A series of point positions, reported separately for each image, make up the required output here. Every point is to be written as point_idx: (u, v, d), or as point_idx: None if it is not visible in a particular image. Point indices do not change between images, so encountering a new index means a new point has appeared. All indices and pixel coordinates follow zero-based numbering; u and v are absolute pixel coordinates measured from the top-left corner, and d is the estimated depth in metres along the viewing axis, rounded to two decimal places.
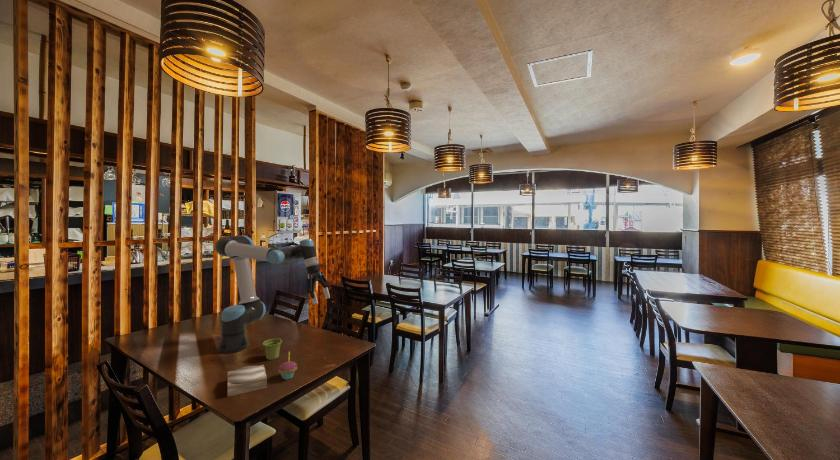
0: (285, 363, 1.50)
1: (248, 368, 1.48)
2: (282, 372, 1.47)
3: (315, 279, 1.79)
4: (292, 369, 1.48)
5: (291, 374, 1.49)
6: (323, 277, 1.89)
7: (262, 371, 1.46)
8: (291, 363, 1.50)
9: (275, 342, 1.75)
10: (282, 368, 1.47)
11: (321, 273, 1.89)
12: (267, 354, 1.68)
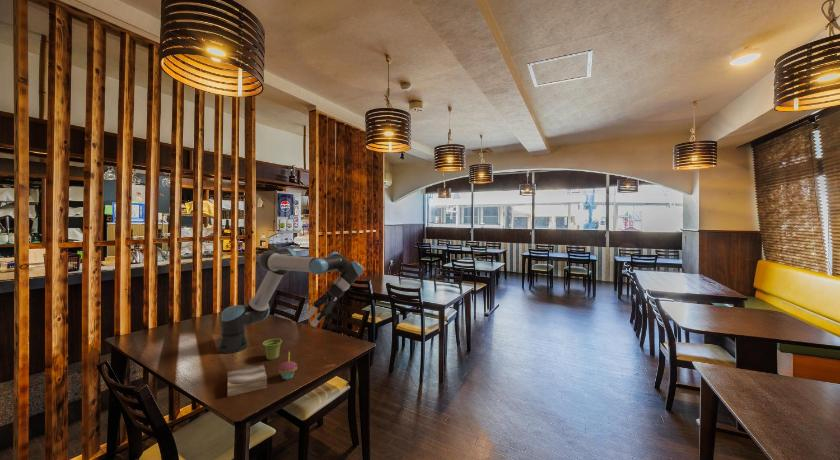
0: (285, 363, 1.50)
1: (248, 368, 1.48)
2: (282, 372, 1.47)
3: None
4: (292, 369, 1.48)
5: (291, 374, 1.49)
6: None
7: (262, 371, 1.46)
8: (291, 363, 1.50)
9: (275, 342, 1.75)
10: (282, 368, 1.47)
11: None
12: (267, 354, 1.68)
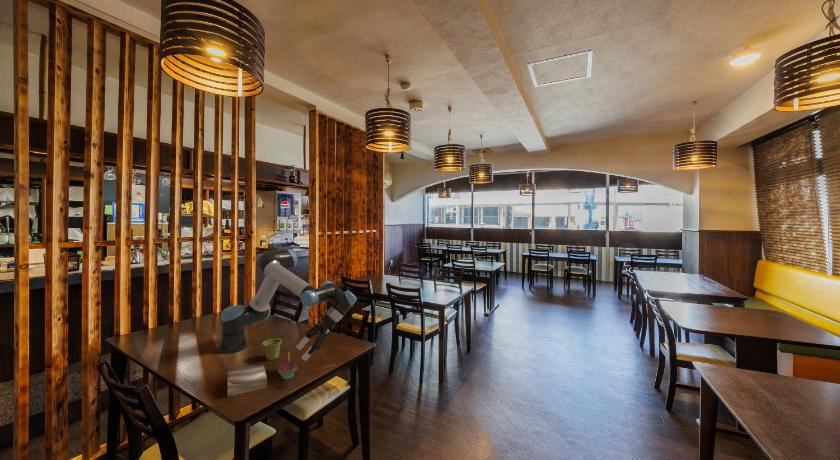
0: (285, 363, 1.50)
1: (248, 368, 1.48)
2: (282, 372, 1.47)
3: None
4: (292, 369, 1.48)
5: (291, 374, 1.49)
6: None
7: (262, 371, 1.46)
8: (291, 363, 1.50)
9: (275, 342, 1.75)
10: (282, 368, 1.47)
11: None
12: (267, 354, 1.68)
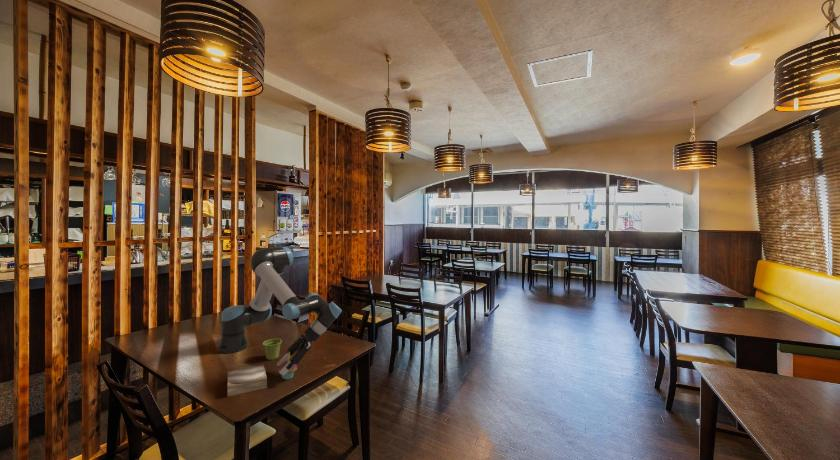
0: (285, 363, 1.50)
1: (248, 368, 1.48)
2: None
3: None
4: (292, 369, 1.48)
5: (291, 374, 1.49)
6: None
7: (262, 371, 1.46)
8: None
9: (275, 342, 1.75)
10: (281, 368, 1.47)
11: None
12: (267, 354, 1.68)
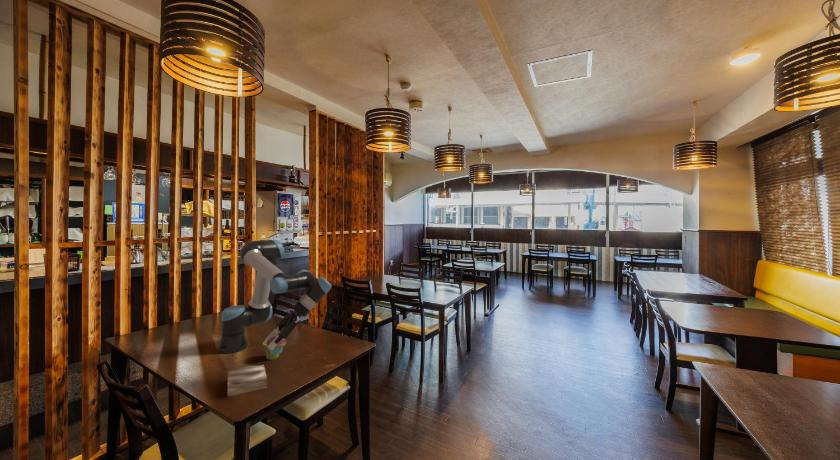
0: (273, 338, 1.46)
1: (248, 368, 1.48)
2: None
3: None
4: (281, 344, 1.45)
5: (280, 349, 1.46)
6: None
7: (262, 371, 1.46)
8: None
9: None
10: (270, 342, 1.44)
11: None
12: (267, 354, 1.68)
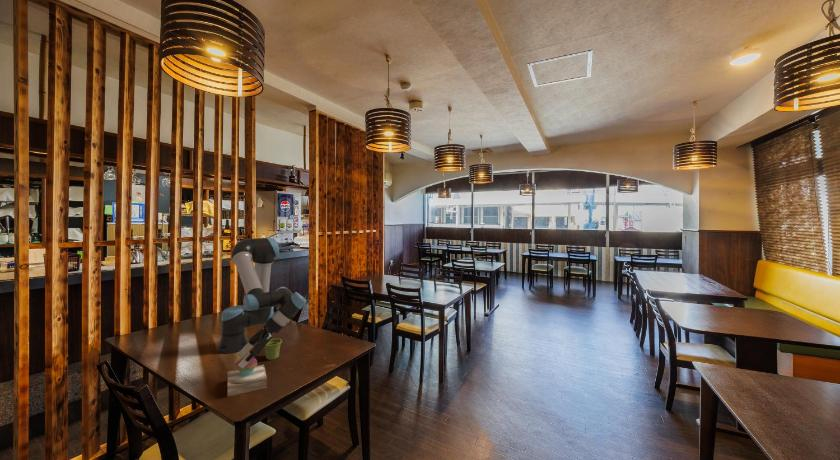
0: None
1: None
2: (240, 369, 1.39)
3: None
4: (251, 365, 1.40)
5: (250, 371, 1.42)
6: None
7: (262, 371, 1.46)
8: None
9: (275, 342, 1.75)
10: None
11: None
12: (267, 354, 1.68)
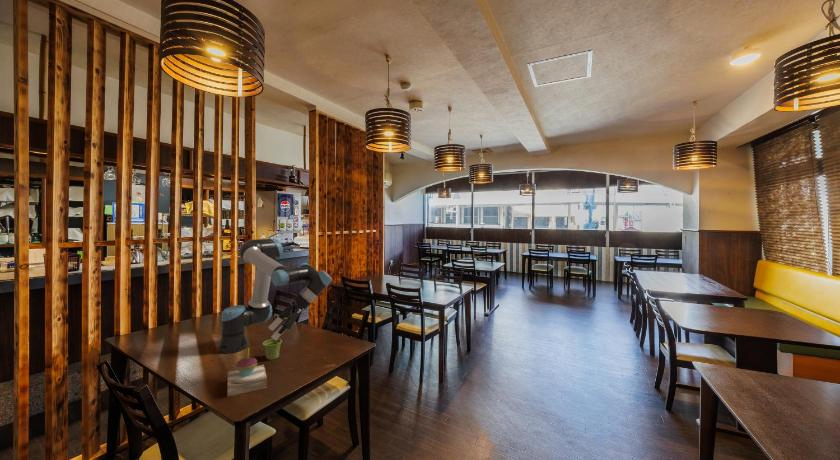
0: (244, 359, 1.42)
1: None
2: (240, 369, 1.39)
3: None
4: (251, 365, 1.40)
5: (250, 371, 1.42)
6: None
7: (262, 371, 1.46)
8: (250, 359, 1.43)
9: (275, 342, 1.75)
10: (239, 364, 1.40)
11: None
12: (267, 354, 1.68)
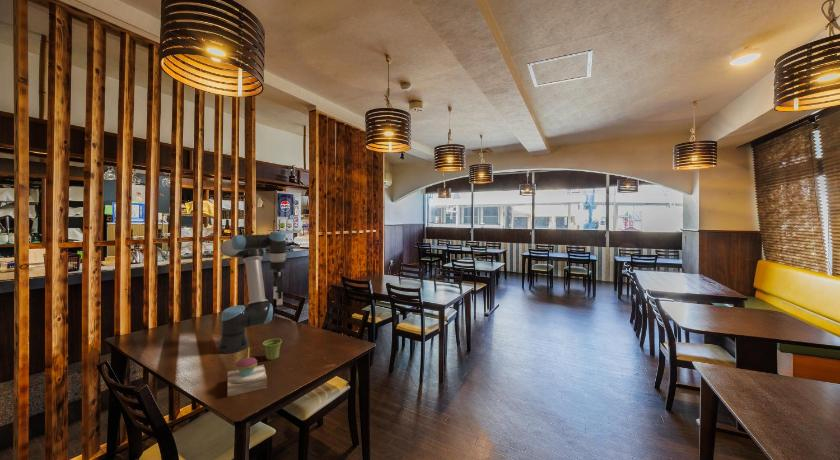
0: (244, 359, 1.42)
1: None
2: (240, 369, 1.39)
3: None
4: (251, 365, 1.40)
5: (250, 371, 1.42)
6: None
7: (262, 371, 1.46)
8: (250, 359, 1.43)
9: (275, 342, 1.75)
10: (239, 364, 1.40)
11: None
12: (267, 354, 1.68)
